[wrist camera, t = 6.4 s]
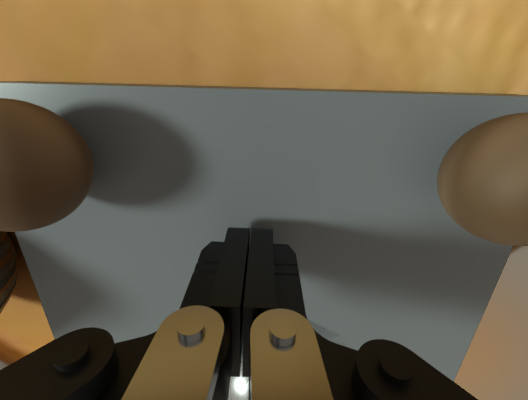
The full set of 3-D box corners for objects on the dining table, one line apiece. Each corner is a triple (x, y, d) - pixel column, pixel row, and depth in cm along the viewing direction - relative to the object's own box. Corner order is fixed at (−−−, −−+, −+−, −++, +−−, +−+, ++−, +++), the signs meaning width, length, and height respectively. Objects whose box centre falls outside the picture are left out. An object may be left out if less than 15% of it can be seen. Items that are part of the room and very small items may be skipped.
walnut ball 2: (430, 105, 8) (529, 120, 5) (546, 108, 8) (716, 124, 5) (404, 209, 10) (471, 272, 6) (504, 212, 10) (619, 276, 6)
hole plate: (26, 81, 10) (-42, 81, 8) (509, 94, 10) (578, 98, 8) (115, 393, 18) (92, 440, 15) (402, 401, 17) (423, 450, 15)
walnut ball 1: (-11, 93, 8) (-180, 100, 5) (104, 96, 8) (5, 106, 5) (25, 199, 10) (-93, 256, 6) (124, 201, 10) (55, 260, 6)
